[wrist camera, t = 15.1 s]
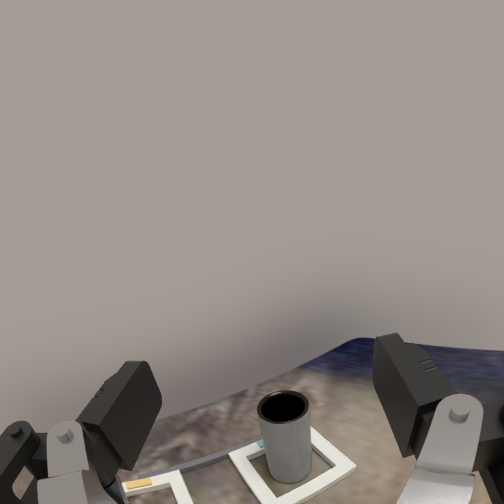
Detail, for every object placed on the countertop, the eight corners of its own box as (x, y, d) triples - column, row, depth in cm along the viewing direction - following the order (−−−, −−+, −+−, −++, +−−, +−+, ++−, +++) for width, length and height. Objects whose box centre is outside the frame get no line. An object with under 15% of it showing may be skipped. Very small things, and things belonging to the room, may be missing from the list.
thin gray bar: (264, 437, 30) (263, 433, 29) (267, 441, 29) (267, 437, 29) (140, 478, 23) (137, 475, 23) (141, 483, 22) (138, 480, 22)
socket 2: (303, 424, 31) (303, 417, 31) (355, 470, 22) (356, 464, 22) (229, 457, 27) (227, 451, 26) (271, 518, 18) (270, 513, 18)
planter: (312, 482, 22) (311, 421, 20) (268, 484, 22) (254, 425, 20) (310, 451, 26) (307, 387, 24) (270, 454, 27) (258, 391, 25)
